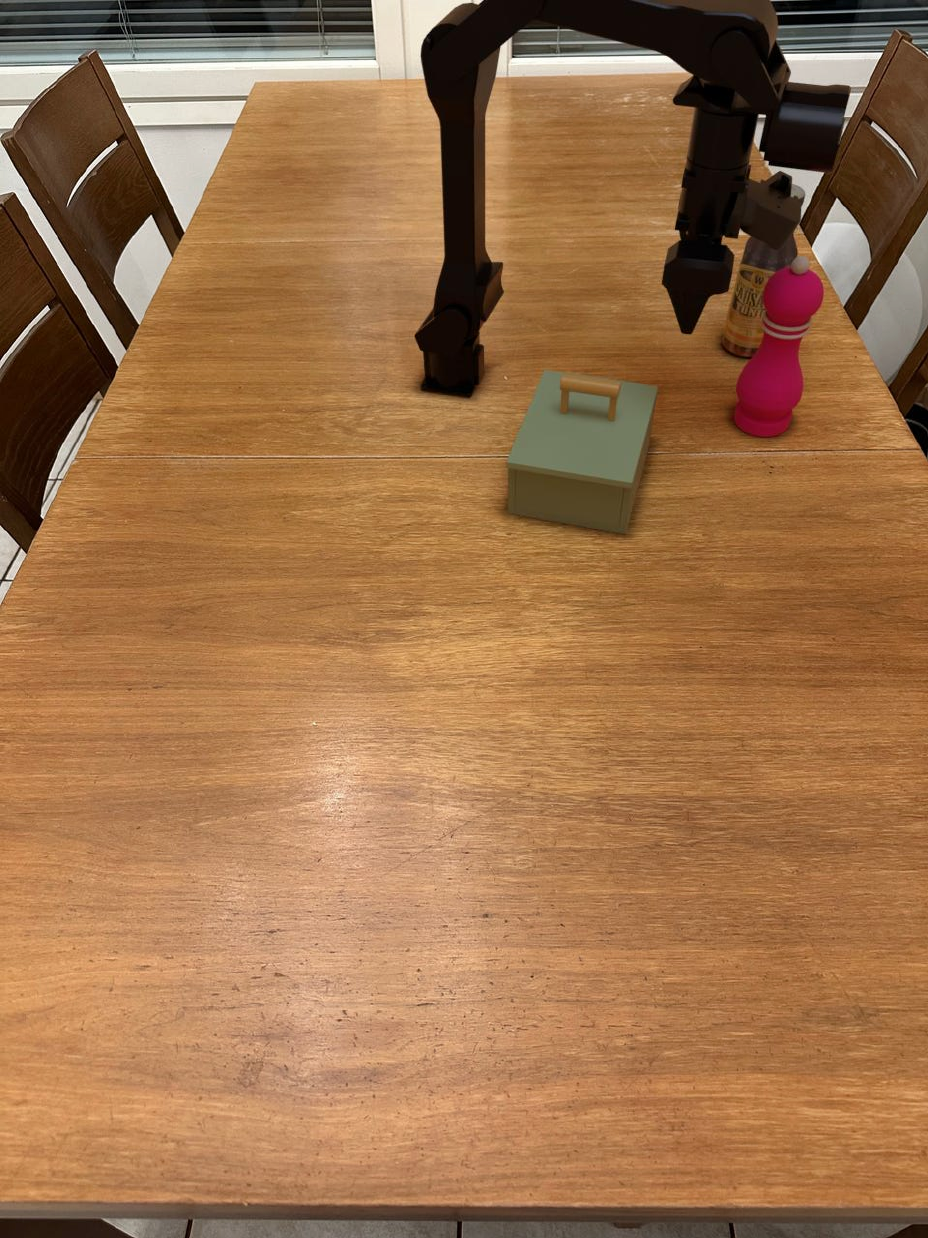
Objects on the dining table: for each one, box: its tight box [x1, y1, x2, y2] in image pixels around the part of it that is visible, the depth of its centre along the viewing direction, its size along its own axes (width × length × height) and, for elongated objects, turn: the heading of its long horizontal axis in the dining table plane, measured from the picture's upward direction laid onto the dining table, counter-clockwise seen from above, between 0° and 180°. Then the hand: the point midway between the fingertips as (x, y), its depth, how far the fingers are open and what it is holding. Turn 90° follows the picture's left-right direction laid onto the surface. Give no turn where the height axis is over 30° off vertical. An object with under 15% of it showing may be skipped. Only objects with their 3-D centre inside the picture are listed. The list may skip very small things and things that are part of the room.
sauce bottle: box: [721, 183, 806, 358], centre depth 112 cm, size 6×6×20 cm
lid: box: [505, 369, 659, 489], centre depth 96 cm, size 16×13×5 cm
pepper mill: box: [733, 255, 825, 438], centre depth 102 cm, size 7×7×20 cm
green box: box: [507, 395, 658, 535], centre depth 101 cm, size 16×13×7 cm
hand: (690, 309), depth 99 cm, fingers open, 9 cm apart
